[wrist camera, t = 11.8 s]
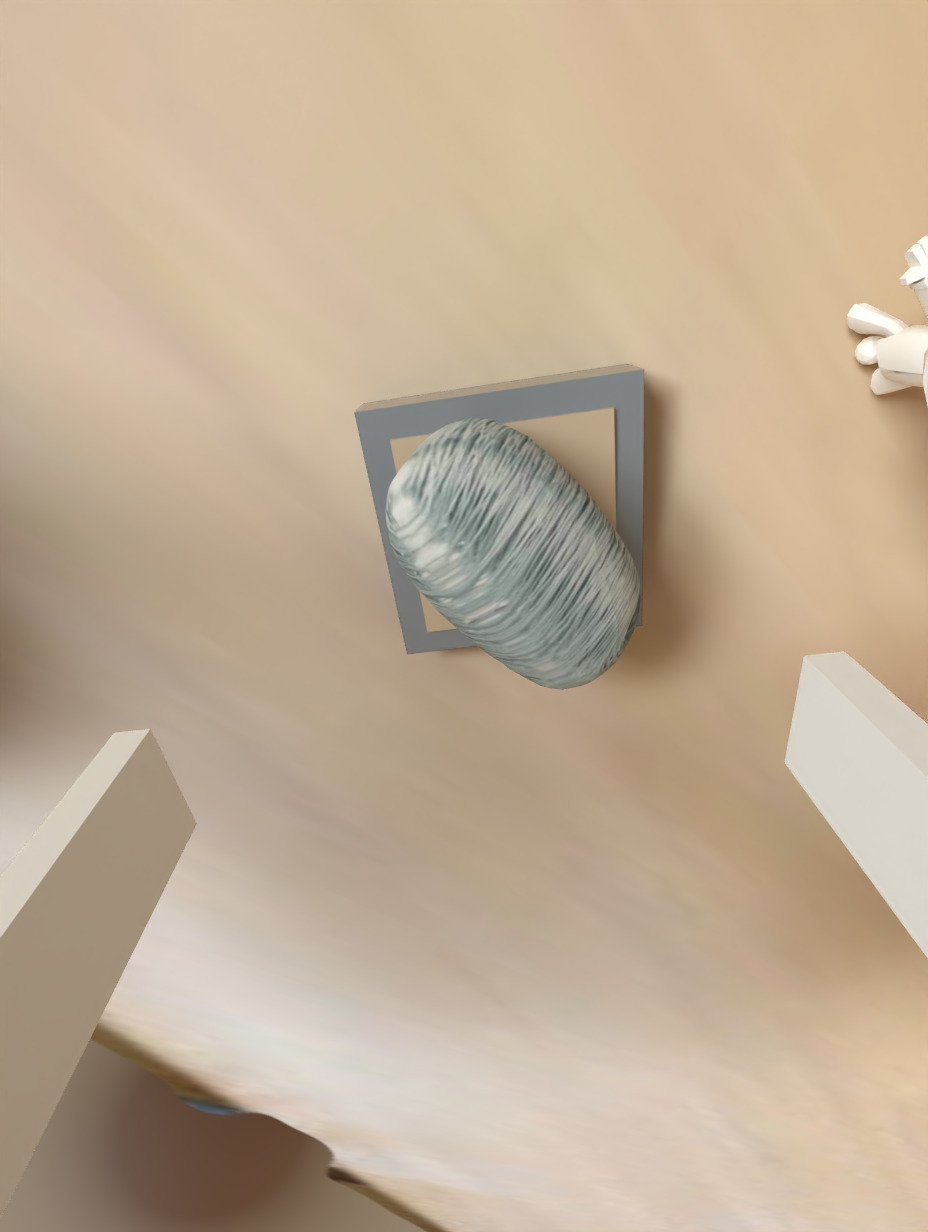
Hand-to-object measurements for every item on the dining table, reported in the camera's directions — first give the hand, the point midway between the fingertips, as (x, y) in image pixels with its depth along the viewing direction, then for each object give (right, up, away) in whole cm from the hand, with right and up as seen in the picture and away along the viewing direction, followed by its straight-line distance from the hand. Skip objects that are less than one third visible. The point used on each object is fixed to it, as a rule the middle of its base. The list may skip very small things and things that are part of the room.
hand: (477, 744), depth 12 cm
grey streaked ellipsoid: (+2, +7, +19) cm, 20 cm away
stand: (+2, +9, +22) cm, 23 cm away
